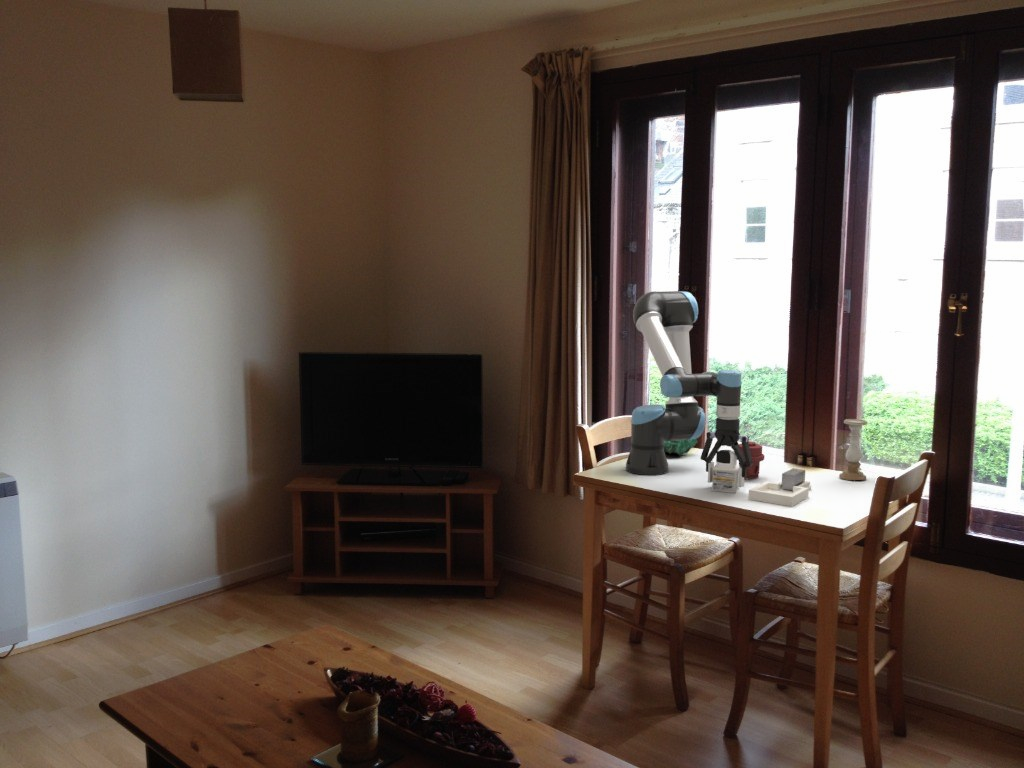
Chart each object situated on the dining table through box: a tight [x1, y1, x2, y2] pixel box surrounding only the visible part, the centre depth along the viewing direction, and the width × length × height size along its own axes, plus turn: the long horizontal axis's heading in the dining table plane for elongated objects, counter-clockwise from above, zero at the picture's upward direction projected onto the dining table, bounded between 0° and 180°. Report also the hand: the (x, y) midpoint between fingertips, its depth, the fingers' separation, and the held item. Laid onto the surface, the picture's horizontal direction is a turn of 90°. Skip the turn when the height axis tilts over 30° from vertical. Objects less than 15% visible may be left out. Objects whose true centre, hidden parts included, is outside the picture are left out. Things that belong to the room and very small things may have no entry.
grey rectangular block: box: [781, 467, 806, 490], centre depth 290 cm, size 4×10×5 cm, turn 142°
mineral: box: [664, 438, 698, 457], centre depth 347 cm, size 18×16×10 cm
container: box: [711, 449, 740, 494], centre depth 291 cm, size 8×8×13 cm
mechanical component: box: [737, 441, 765, 480], centre depth 308 cm, size 12×10×10 cm
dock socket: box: [748, 480, 812, 507], centre depth 285 cm, size 14×25×3 cm, turn 142°
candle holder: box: [839, 418, 868, 482], centre depth 306 cm, size 9×9×20 cm
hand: (725, 484), depth 292 cm, fingers open, 10 cm apart
